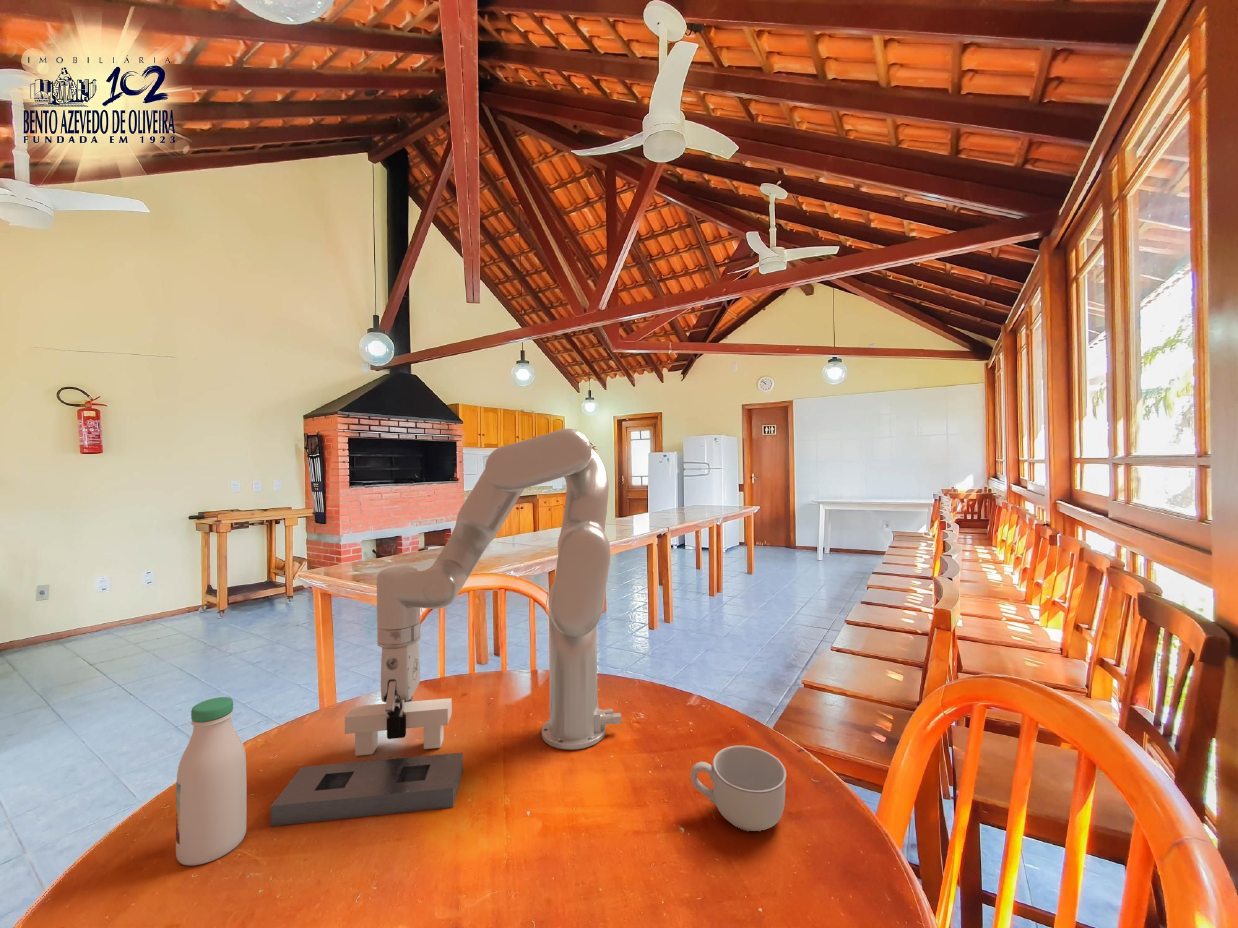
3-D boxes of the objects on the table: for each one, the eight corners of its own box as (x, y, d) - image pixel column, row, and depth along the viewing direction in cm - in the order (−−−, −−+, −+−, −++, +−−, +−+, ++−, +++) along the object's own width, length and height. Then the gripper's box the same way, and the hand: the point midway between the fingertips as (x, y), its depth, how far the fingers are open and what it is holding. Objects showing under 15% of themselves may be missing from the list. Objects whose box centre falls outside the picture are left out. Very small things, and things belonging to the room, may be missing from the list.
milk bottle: (259, 828, 74) (260, 691, 75) (212, 869, 67) (213, 717, 67) (211, 825, 75) (212, 689, 75) (159, 865, 68) (160, 715, 68)
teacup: (787, 802, 79) (786, 751, 80) (786, 852, 69) (785, 793, 69) (698, 785, 84) (698, 736, 84) (685, 829, 74) (685, 774, 74)
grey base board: (462, 769, 89) (462, 752, 89) (453, 807, 79) (453, 787, 79) (301, 784, 85) (301, 766, 85) (270, 826, 75) (270, 805, 75)
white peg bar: (452, 736, 99) (451, 698, 99) (448, 748, 95) (447, 708, 95) (353, 745, 96) (353, 706, 97) (345, 758, 92) (344, 717, 92)
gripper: (408, 647, 88) (409, 753, 88) (429, 619, 105) (430, 707, 105) (362, 650, 87) (363, 757, 87) (391, 621, 104) (392, 711, 103)
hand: (400, 729), depth 96 cm, fingers closed on white peg bar, 4 cm apart
